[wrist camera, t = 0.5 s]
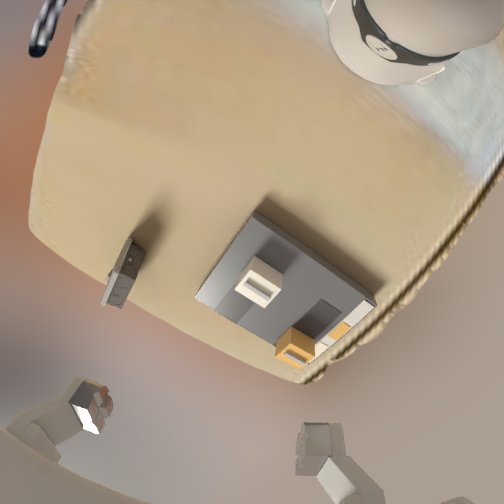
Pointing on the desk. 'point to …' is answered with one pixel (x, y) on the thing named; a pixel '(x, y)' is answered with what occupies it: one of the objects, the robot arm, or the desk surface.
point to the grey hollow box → (123, 275)
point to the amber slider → (295, 348)
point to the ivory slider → (259, 282)
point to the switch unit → (286, 288)
